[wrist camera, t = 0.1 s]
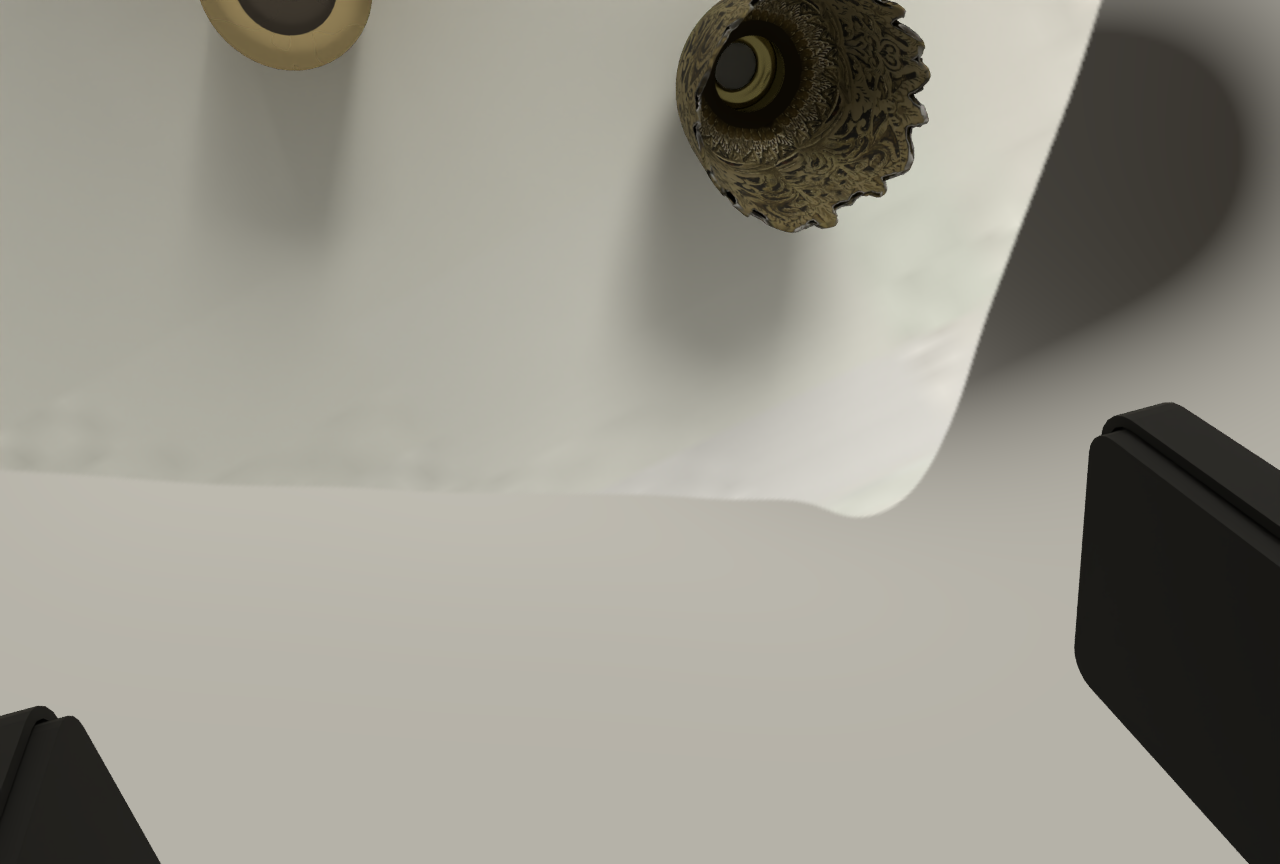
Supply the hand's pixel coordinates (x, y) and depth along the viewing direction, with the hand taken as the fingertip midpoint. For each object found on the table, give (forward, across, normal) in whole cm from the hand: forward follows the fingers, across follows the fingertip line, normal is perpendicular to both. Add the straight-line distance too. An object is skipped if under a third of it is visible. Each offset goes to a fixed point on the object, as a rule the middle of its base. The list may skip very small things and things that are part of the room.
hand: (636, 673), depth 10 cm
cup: (+31, -11, +2) cm, 33 cm away
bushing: (+31, +3, -4) cm, 31 cm away
